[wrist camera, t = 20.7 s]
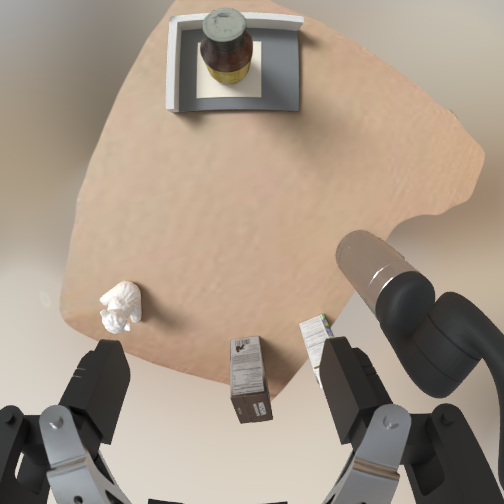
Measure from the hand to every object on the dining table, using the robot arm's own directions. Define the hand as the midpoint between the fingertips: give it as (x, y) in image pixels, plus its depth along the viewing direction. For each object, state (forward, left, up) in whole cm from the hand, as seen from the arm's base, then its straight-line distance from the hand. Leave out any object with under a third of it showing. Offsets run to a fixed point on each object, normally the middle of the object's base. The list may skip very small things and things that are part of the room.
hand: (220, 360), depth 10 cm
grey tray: (-1, -21, -38) cm, 44 cm away
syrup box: (-17, +29, -38) cm, 51 cm away
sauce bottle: (0, -20, -37) cm, 42 cm away
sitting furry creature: (+21, +20, -38) cm, 48 cm away
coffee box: (-3, +35, -38) cm, 52 cm away
